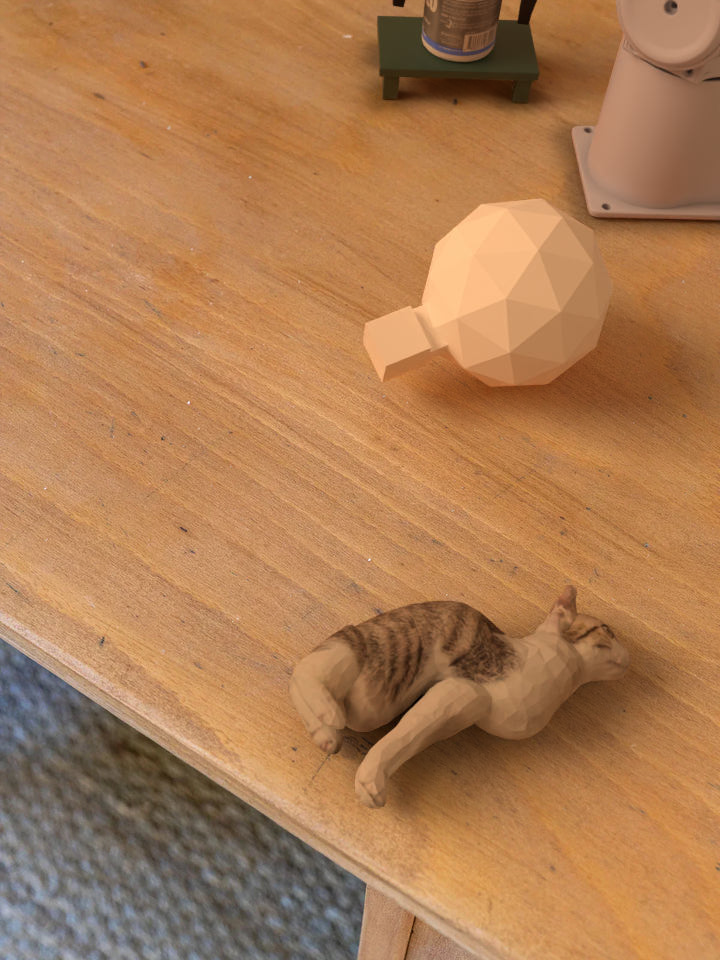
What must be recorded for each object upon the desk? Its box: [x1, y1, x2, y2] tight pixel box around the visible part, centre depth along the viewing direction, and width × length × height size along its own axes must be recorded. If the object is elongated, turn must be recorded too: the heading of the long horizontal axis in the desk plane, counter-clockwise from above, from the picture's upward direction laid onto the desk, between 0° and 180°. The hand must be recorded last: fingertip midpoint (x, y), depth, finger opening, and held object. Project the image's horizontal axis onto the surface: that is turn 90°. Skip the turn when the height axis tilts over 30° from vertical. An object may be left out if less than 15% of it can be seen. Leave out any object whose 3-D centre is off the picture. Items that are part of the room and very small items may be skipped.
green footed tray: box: [376, 15, 540, 104], centre depth 61 cm, size 10×6×2 cm, turn 91°
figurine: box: [287, 584, 633, 810], centre depth 36 cm, size 4×16×15 cm
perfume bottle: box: [362, 198, 615, 388], centre depth 45 cm, size 9×9×12 cm
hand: (461, 6), depth 58 cm, fingers open, 7 cm apart
